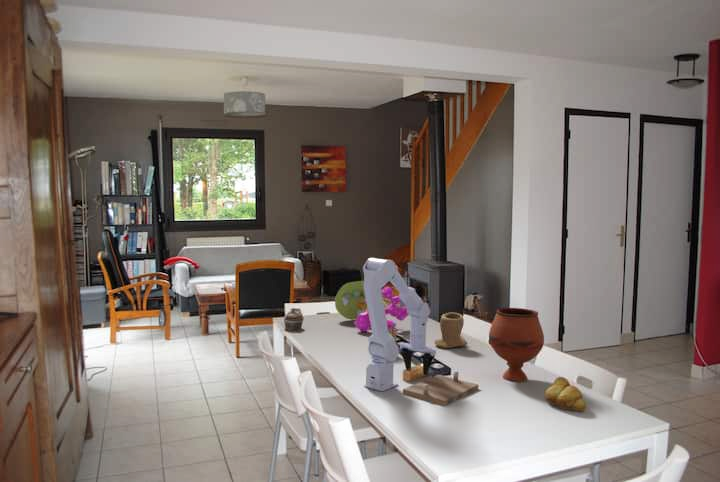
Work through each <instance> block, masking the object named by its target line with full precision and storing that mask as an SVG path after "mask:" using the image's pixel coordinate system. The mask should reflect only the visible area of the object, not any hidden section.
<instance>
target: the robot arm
mask: <svg viewBox="0 0 720 482" xmlns="http://www.w3.org/2000/svg"><path fill="white" fill-rule="evenodd" d="M362 270H363V275H364V278H363V281H364V286H363V287H364V293H365V298H366V303H367V308H368V313H369V318H370V323H371V328H370V329H371V332H372V334H371V335H370V336H369V337H368V347H367V349H368V350H367V351H368V354H370V356H371V359H372V361H371V363H369V364H368V365H367V366H366V368H365V369H366V372H365V374H366V375H365V384H363V387H365V388H369V389H373V390H376V391H379V392H385V391H387V390H389V389H391V388H394V387H397V386H398V385H399V383H398V382H394V365H395V364H394V363H395V362H396V360H397V358H398V356H399V354H400V355H401V358H402V359H403V362H404V365H405V369H408V368H411V367H412V359H413V358H412V356H413V352H416V353H420V354H422V355H421V358H422V360H421V361H422V363H423V374H427V373H428V371H429V368H431V365H432V363H433V361H434V358H435V357H436V355H437V349H435V348H432V347H429V346H426V343H427V342H426V341H427V323H428V318H429V316H430V314H431V309H430V307H429V305H428V303H426V302H424V301H423V300H422V297H420V296H419V295H418V293H417V292H416V288H414V287H412V286H408V285H407V284H406V281H405V280H404V278H403V276H402V275H401V274H400V272H399V267H398V265H397V264H396V263H395V261H394V260H392V259H384V258H376V257H369V258H368V259H367V260H366V262H365V264H364V265H363V266H362ZM389 282H390V283H391V284H392V285H393V286H394V288H395V289H396V290H397V291H398V293H399V294H398V296H399V297H400V299H401V301H402V303H403V304H404V305H405V307H407V313H408V315H409V316H410V326H409V327H410V328H409V343H407V342H401V343H399V346H398V344H397V342H396V343H395V339H394V338H393V334H392V335H391V334H390V333H389V331H390V330H388V326H387V320H388V319H387V316H386V315H387V314H386V315H385V310H384V309H385V304H384V303H383V299H384V298H383V299H382V294H381V289H382V288H384V287H386V285H387V283H389Z"/></svg>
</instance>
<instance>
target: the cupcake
mask: <svg viewBox="0 0 720 482" xmlns="http://www.w3.org/2000/svg"><path fill="white" fill-rule="evenodd" d="M304 319H305V318H304V317H303V313H302V310H301V308H294V307H292V308H290V310H289V311H288V312H287V313H286V314H285V317H284V318H283V321H284V328H285V330H286V331H295V332H296V331H300V330H302V326H303V322H304Z"/></svg>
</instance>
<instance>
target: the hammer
mask: <svg viewBox="0 0 720 482" xmlns="http://www.w3.org/2000/svg"><path fill="white" fill-rule="evenodd" d="M430 368H431V367H430ZM430 368H429V371H428V373H427V374H423V362H420V363H417V364H416V365H414V366H411V368H408V369H406V368H405V369H403V371H402V380H403V381H406V382H409V383H410V382H414V381H415V380H418V379H420V378H423V377H426V376H430V374H431V373H430V370H431V369H430Z"/></svg>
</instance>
